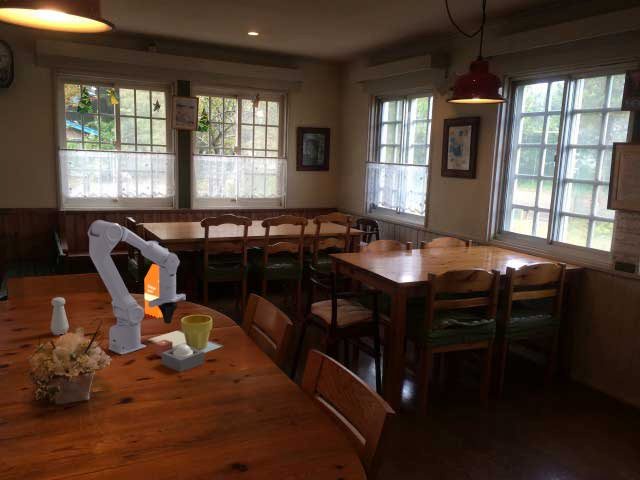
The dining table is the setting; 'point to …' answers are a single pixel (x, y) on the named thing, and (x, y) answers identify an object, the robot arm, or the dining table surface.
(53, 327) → the salt shaker
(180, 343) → the game board
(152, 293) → the orange juice
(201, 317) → the plant pot
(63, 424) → the dining table surface
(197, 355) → the dome base
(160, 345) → the red die
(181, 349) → the dome button
